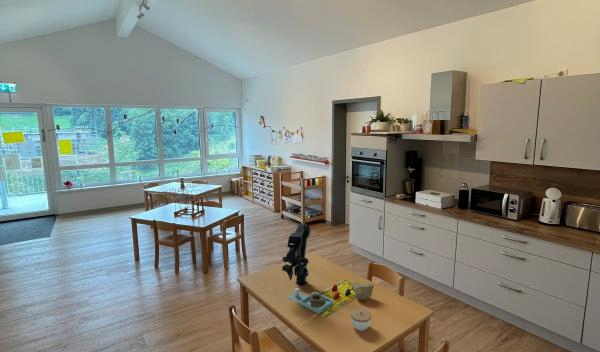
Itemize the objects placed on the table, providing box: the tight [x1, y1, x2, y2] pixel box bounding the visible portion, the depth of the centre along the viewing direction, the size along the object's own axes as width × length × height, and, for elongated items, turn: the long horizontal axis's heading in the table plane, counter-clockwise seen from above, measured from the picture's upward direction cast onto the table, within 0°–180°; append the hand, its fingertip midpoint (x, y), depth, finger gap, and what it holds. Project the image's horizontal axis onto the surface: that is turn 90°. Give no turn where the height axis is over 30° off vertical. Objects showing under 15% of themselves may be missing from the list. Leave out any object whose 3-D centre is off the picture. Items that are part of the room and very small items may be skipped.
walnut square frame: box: [309, 293, 325, 307], centre depth 202 cm, size 7×9×4 cm
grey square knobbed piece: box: [286, 287, 308, 304], centre depth 210 cm, size 10×10×6 cm
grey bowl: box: [350, 281, 374, 301], centre depth 208 cm, size 15×11×12 cm
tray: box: [298, 291, 335, 315], centre depth 202 cm, size 15×15×2 cm
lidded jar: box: [350, 308, 372, 332], centre depth 179 cm, size 11×11×9 cm
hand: (295, 277), depth 211 cm, fingers open, 9 cm apart
